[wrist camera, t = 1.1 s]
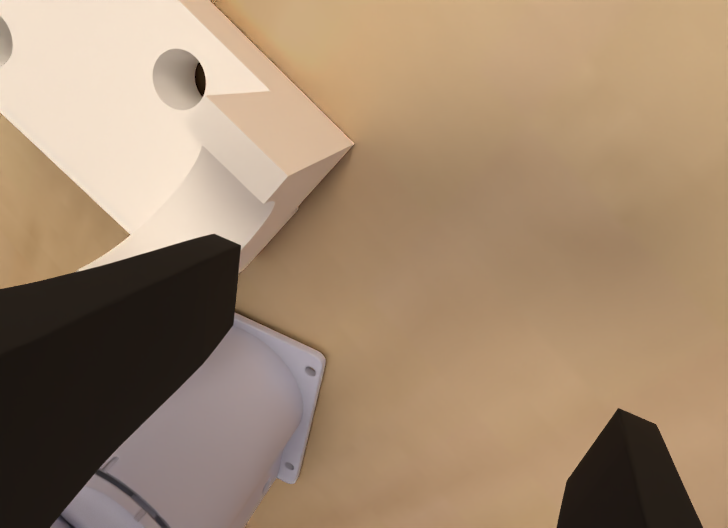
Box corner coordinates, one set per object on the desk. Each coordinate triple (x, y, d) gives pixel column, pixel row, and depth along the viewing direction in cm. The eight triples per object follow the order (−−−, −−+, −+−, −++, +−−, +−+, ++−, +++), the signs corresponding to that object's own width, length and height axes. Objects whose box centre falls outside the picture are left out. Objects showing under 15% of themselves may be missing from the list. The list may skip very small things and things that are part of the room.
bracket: (360, 140, 20) (288, 176, 13) (244, 268, 22) (131, 356, 15) (87, -131, 19) (-151, -251, 12) (0, 36, 22) (-237, 17, 15)
